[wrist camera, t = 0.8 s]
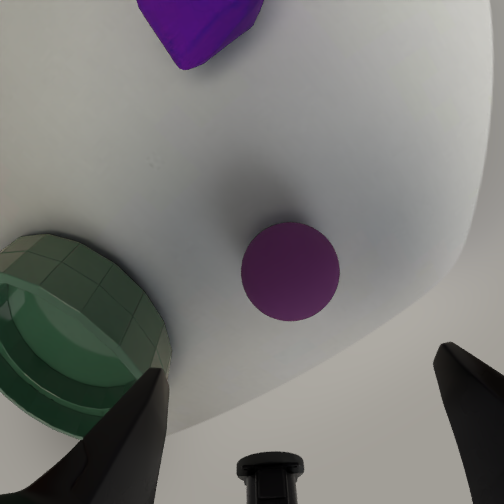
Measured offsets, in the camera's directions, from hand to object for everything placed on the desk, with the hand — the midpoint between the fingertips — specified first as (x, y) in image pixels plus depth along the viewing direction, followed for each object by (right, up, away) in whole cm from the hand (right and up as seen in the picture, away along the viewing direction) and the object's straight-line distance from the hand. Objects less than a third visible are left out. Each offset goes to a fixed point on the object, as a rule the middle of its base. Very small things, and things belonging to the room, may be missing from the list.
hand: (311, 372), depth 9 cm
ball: (0, +3, +5) cm, 6 cm away
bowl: (-14, -1, +10) cm, 17 cm away
